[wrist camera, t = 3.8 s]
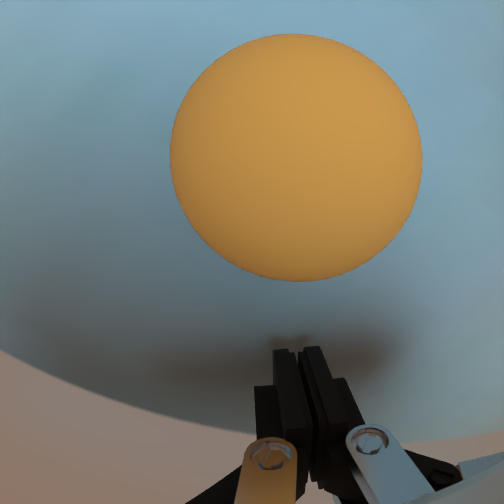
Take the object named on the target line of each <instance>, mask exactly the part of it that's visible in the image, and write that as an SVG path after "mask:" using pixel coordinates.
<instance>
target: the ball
mask: <svg viewBox="0 0 504 504" xmlns="http://www.w3.org/2000/svg"><path fill="white" fill-rule="evenodd" d="M170 167H171V174H172V181H173V185H174V188H175V191H176V195H177V198H178V200H179V203H180V205H181V207H182V209H183V211H184V214H185V215H186V217H187V218H188V220H189V222H190V223H191V225H192V227H193V228H194V229H195V231H196V232H197V233H198V234H199V235H200V237H201V238H202V239H203V240H204V241H205V242H206V243H207V244H208V245H209V246H210V247H211V248H212V249H213V250H214V251H215V252H216V253H218V254H219V255H221V256H222V257H223V258H225V259H226V260H228V261H229V262H230V263H232V264H234V265H236V266H238V267H240V268H242V269H243V270H246V271H248V272H251V273H254V274H256V275H259V276H262V277H266V278H271V279H275V280H283V281H293V282H304V281H316V280H323V279H328V278H331V277H335V276H338V275H342V274H344V273H346V272H349V271H351V270H353V269H355V268H357V267H359V266H361V265H362V264H364V263H366V262H367V261H369V260H370V259H372V258H373V257H374V256H375V255H377V254H378V253H379V252H380V251H382V250H383V249H384V248H385V247H386V246H387V245H388V244H389V243H390V242H391V241H392V240H393V239H394V238H395V236H396V235H397V234H398V232H399V231H400V229H401V228H402V227H403V225H404V223H405V222H406V220H407V218H408V216H409V215H410V213H411V210H412V208H413V205H414V203H415V200H416V197H417V194H418V190H419V186H420V181H421V173H422V149H421V140H420V135H419V131H418V127H417V123H416V121H415V118H414V115H413V113H412V110H411V108H410V106H409V104H408V102H407V100H406V99H405V97H404V95H403V94H402V92H401V91H400V89H399V88H398V86H397V85H396V84H395V82H394V81H393V80H392V79H391V78H390V77H389V76H388V74H387V73H386V72H385V71H384V70H383V69H382V68H380V67H379V66H378V65H377V64H376V63H375V62H374V61H372V60H371V59H369V58H368V57H366V56H365V55H363V54H362V53H360V52H359V51H357V50H355V49H353V48H351V47H349V46H347V45H345V44H342V43H340V42H337V41H334V40H331V39H327V38H323V37H318V36H313V35H303V34H281V35H273V36H268V37H263V38H259V39H256V40H253V41H250V42H247V43H245V44H243V45H241V46H239V47H237V48H234V49H232V50H231V51H229V52H228V53H226V54H225V55H223V56H222V57H220V58H219V59H217V60H216V61H215V62H214V63H213V64H211V65H210V66H209V67H208V68H207V69H206V70H205V71H204V72H203V73H202V74H201V75H200V76H199V77H198V79H197V80H196V81H195V82H194V83H193V85H192V86H191V88H190V89H189V91H188V93H187V94H186V96H185V97H184V99H183V101H182V104H181V106H180V108H179V110H178V113H177V115H176V119H175V122H174V126H173V130H172V136H171V143H170Z"/></svg>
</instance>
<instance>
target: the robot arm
mask: <svg viewBox="0 0 504 504" xmlns="http://www.w3.org/2000/svg"><path fill="white" fill-rule="evenodd" d="M254 396H255V415H256V433H257V440H256V441H255V442H253V443H251V444H250V445H249V446H248V447H247V449H246V451H245V454H244V459H243V463H242V465H241V466H240V467H238V468H237V469H235V470H234V471H233V472H231V473H230V474H229V475H227V476H226V477H224V478H223V479H222V480H220V481H219V482H217V483H216V484H214V485H213V486H211V487H210V488H209V489H207V490H205V491H204V492H202V493H201V494H199V495H198V496H196V497H195V498H193V499H192V500H190V501H189V502H187V503H185V504H295V502H296V501H297V500H298V499H299V498H300V497H301V496H302V495H303V494H304V493H305V485H306V483H307V479H308V472H309V473H310V478H311V481H312V482H316V481H317V483H318V488H319V489H323V488H324V490H325V491H327V492H329V493H332V494H333V500H334V502H335V504H504V452H500V453H497V454H493V455H489V456H485V457H481V458H477V459H472V460H468V461H463V462H459V463H458V464H457V465H456V466H454V465H452V464H450V463H447V462H444V461H440V460H437V459H433V458H430V457H427V456H424V455H420V454H417V453H414V452H411V451H408V450H405V449H403V448H402V447H401V445H400V444H399V443H398V441H397V440H396V439H395V437H394V436H393V435H392V433H391V432H390V431H389V430H388V429H386V428H384V427H382V426H380V425H375V424H365V422H364V420H363V418H362V415H361V413H360V411H359V409H358V407H357V404H356V402H355V400H354V398H353V395H352V393H351V391H350V389H349V387H348V384H347V382H346V380H345V379H344V378H336V379H333V378H332V375H331V373H330V371H329V368H328V366H327V363H326V361H325V358H324V356H323V353H322V351H321V349H320V347H319V346H313V347H304V349H303V351H302V352H298V364H297V361H296V357H295V353H294V352H291V353H289V350H288V349H279V350H273V385H268V386H254Z"/></svg>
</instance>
